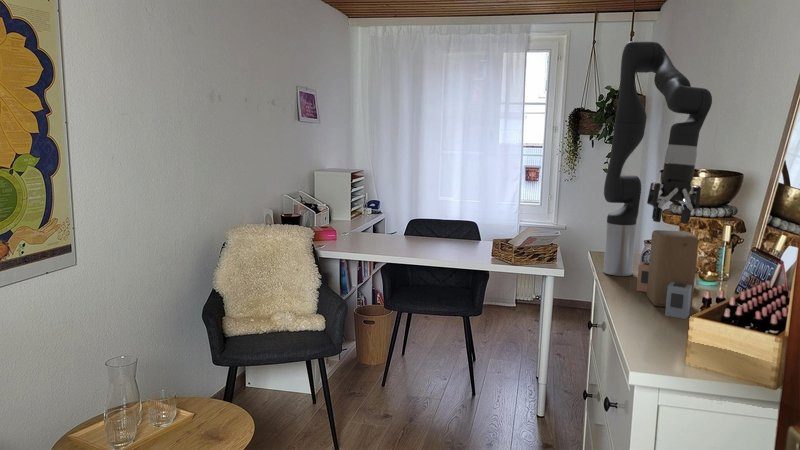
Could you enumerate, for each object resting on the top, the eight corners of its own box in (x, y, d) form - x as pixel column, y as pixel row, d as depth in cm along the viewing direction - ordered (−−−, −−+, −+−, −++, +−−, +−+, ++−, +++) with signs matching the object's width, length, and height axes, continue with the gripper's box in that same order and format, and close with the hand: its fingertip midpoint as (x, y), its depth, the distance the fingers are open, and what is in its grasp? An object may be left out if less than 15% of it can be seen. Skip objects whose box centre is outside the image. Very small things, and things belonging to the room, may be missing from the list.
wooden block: (692, 309, 156) (700, 237, 152) (653, 307, 158) (659, 235, 154) (682, 299, 165) (689, 231, 162) (645, 297, 167) (651, 229, 164)
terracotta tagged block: (640, 286, 178) (642, 260, 177) (657, 289, 176) (660, 263, 174) (636, 290, 174) (638, 263, 173) (653, 293, 171) (656, 266, 170)
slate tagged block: (668, 310, 155) (671, 280, 153) (689, 314, 152) (692, 284, 150) (664, 315, 150) (667, 285, 149) (685, 319, 148) (688, 288, 146)
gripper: (692, 164, 159) (683, 222, 161) (647, 160, 156) (638, 219, 158) (712, 165, 152) (702, 226, 154) (665, 161, 149) (655, 223, 151)
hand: (670, 222), depth 156 cm, fingers open, 8 cm apart
